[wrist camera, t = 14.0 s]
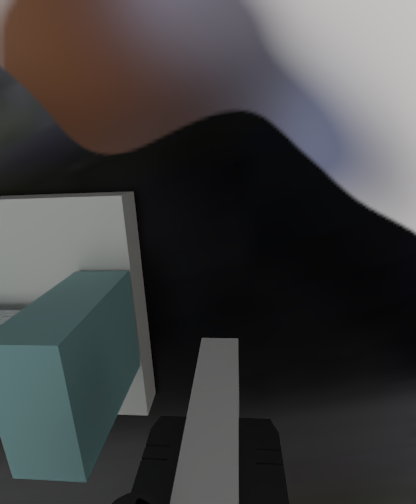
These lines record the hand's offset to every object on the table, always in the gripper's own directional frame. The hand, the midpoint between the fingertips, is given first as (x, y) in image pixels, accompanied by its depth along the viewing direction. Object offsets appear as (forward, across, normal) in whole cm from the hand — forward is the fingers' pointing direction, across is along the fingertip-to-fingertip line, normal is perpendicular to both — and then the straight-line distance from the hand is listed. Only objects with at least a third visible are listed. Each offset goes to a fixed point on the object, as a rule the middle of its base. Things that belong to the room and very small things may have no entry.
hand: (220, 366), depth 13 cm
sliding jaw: (+4, +11, 0) cm, 12 cm away
